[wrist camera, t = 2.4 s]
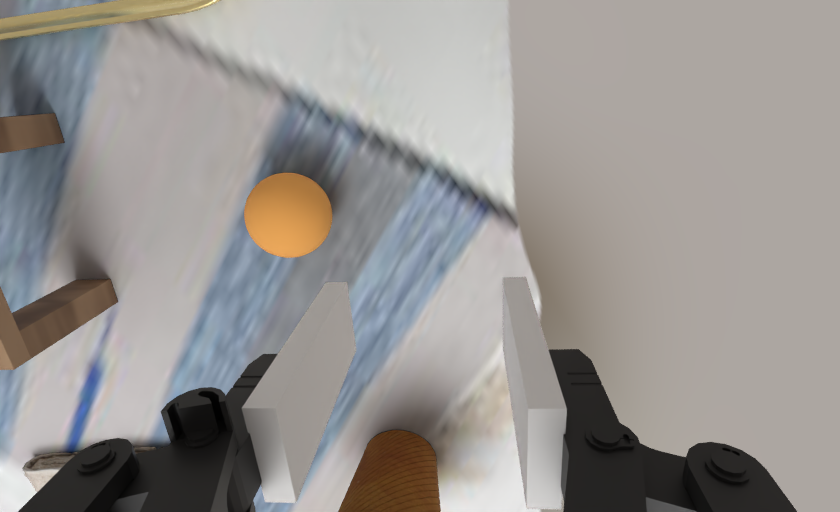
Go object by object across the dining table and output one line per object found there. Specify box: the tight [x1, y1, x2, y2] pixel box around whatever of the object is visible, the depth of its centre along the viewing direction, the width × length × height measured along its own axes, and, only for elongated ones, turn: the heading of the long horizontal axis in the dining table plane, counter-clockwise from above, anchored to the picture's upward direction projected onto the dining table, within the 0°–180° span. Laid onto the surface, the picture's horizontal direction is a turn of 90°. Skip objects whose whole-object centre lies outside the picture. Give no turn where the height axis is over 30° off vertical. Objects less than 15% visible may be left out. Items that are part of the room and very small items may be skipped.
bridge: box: [0, 113, 118, 370], centre depth 30 cm, size 3×14×9 cm, turn 4°
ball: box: [244, 173, 332, 258], centre depth 30 cm, size 6×6×6 cm
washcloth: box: [22, 447, 163, 492], centre depth 44 cm, size 12×18×3 cm, turn 101°
